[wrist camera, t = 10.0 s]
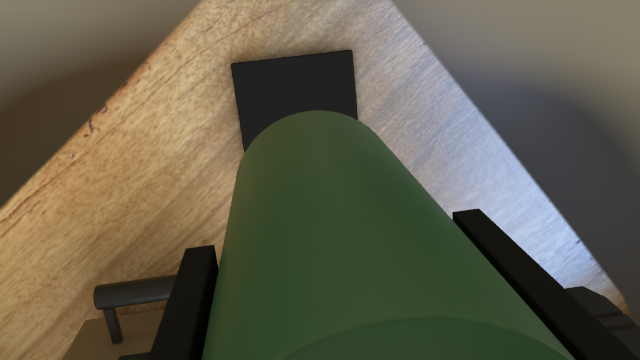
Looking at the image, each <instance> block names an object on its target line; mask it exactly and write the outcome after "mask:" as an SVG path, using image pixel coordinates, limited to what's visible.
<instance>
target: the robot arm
mask: <svg viewBox="0 0 640 360" xmlns="http://www.w3.org/2000/svg"><path fill="white" fill-rule="evenodd" d="M453 221H454V223H455V224H456V225H457V226H458V227H459V228H460V229H461V231H462V232H463V233H464V234H465V235H466V236H467V237H468V238H469V240H470V241H471V242H472V243H473V244H474V245H475V246H476V248H477V249H478V250H479V251H480V252H481V253H482V254H483V255H484V257H485V258H486V259H487V260H488V261H489V262H490V263H491V264H492V266H493V267H494V268H495V269H496V270H497V271H498V272H499V274H500V275H501V276H502V277H503V278H504V279H505V280H506V281H507V283H508V284H509V285H510V286H511V287H512V288H513V289H514V291H515V292H516V293H517V294H518V295H519V296H520V297H521V298H522V300H523V301H524V302H525V303H526V304H527V305H528V306H529V308H530V309H531V310H532V311H533V312H534V313H535V314H536V315H537V317H538V318H539V319H540V320H541V321H542V322H543V323H544V324H545V326H546V327H547V328H548V329H549V330H550V331H551V332H552V334H553V335H554V336H555V337H556V338H557V339H558V340H559V341H560V343H561V344H562V345H563V346H564V347H565V348H566V349H567V351H568V352H569V353H570V354H571V355H572V356H573V357H574V358H575V360H640V326H638V327H637V325H636V323H635V322H634V321H633V320H632V319H631V318H629V317H628V316H627V315H626V314H623V313H622V311H621V310H620V309H619V308H618V307H616V306H615V305H614V304H613V303H612V302H611V301H609V300H608V299H607V298H606V297H604V296H602V295H600V294H598V293H596V292H594V291H591V290H589V289H587V288H585V287H583V286H580V287H573V288H566V289H564V288H563V287H562V286H561V285H560V284H559V283H558V282H557V281H556V280H555V279H554V278H553V277H551V276H550V275H549V274H548V273H547V272H546V271H545V270H544V269H543V268H542V267H541V266H540V265H539V264H538V263H537V262H535V261H534V260H533V259H532V258H531V257H530V256H529V255H528V254H527V253H526V252H525V251H524V250H523V249H522V248H521V247H519V246H518V245H517V244H516V243H515V242H514V241H513V240H512V239H511V238H510V237H509V236H508V235H507V234H506V233H504V232H503V231H502V230H501V229H500V228H499V227H498V226H497V225H496V224H495V223H494V222H493V221H492V220H491V219H490V218H488V217H487V216H486V215H485V214H484V213H483V212H482V211H481V210H480V209H472V210H465V211H458V212H453ZM218 270H219V269H218V263H217V258H216V253H215V248H214V245H209V246H202V247H195V248H187V249H186V250H185V253H184V256H183V258H182V261H181V264H180V267H179V270H178V273H177V276H176V279H175V282H174V285H173V287H172V290H171V293H170V296H169V299H168V302H167V305H166V308H165V311H164V314H163V316H162V319H161V322H160V325H159V328H158V331H157V334H156V337H155V340H154V343H153V345H152V348H151V351H150V352H145V353H138V354H131V355H124V356H120V357H119V358H118V359H117V360H202V354H203V349H204V344H205V339H206V333H207V328H208V323H209V318H210V312H211V307H212V302H213V297H214V291H215V286H216V281H217V276H218Z"/></svg>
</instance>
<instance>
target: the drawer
mask: <svg viewBox="0 0 640 360" xmlns="http://www.w3.org/2000/svg"><path fill="white" fill-rule="evenodd" d="M176 276H177V274H174V275H167V276H159V277H152V278H145V279H138V280H130V281H123V282H116V283H109V284H101V285H97V286H96V287H95V289H94V293H93V299H94V304H95V307H96V308H97V309H98V310H103V312H104V316H105V318H98V319H91V320H86V321H85V322H84V324H83V325H82V327H81V329H80V330H79V332H78V334H77V336H76V337H75V339H74V341H73V342H72V344H71V346H70V347H69V349H68V351H67V352H66V354H65V356H64V358H63V359H62V360H117V359H118V358H119V357H120V356H124V355H131V354H138V353H145V352H150V351H151V348H152V345H153V343H154V340H155V337H156V334H157V331H158V328H159V325H160V322H161V319H162V316H163V314H164V311H165V309H162V310H155V311H148V312H141V313H134V314H127V315H120V316H117V313H116V309H115V308H117V307H124V306H131V305H138V304H145V303H152V302H160V301H167V300H168V299H169V296H170V293H171V290H172V287H173V285H174V282H175V279H176Z"/></svg>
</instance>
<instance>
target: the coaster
mask: <svg viewBox="0 0 640 360" xmlns="http://www.w3.org/2000/svg"><path fill="white" fill-rule="evenodd" d="M231 70H232V76H233V82H234V89H235V95H236V101H237V108H238V114H239V120H240V127H241V133H242V140H243V146H244V152H245V151H246V150H247V149H248V147H249V146H250V144H251V143H252V142H253V140H254V139H255V138H256V137H257V136H258V135H259V134H260V133H261V132H262V131H263V130H265V129H266V128H267V127H269V126H270V125H272V124H273V123H275V122H276V121H278V120H280V119H282V118H284V117H287V116H290V115H293V114H296V113H300V112H305V111H317V110H321V111H332V112H337V113H341V114H344V115H347V116H350V117H352V118H354V119H356V120H358V115H357V102H356V90H355V77H354V64H353V52H352V50H345V51H336V52H328V53H319V54H310V55H301V56H293V57H284V58H275V59H266V60H258V61H249V62H240V63H232V64H231Z"/></svg>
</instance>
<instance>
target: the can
mask: <svg viewBox="0 0 640 360" xmlns="http://www.w3.org/2000/svg"><path fill="white" fill-rule="evenodd" d="M202 360H575V358H574V357H573V356H572V355H571V354H570V353H569V352H568V351H567V349H566V348H565V347H564V346H563V345H562V344H561V343H560V341H559V340H558V339H557V338H556V337H555V336H554V335H553V334H552V332H551V331H550V330H549V329H548V328H547V327H546V326H545V324H544V323H543V322H542V321H541V320H540V319H539V318H538V317H537V315H536V314H535V313H534V312H533V311H532V310H531V309H530V308H529V306H528V305H527V304H526V303H525V302H524V301H523V300H522V298H521V297H520V296H519V295H518V294H517V293H516V292H515V291H514V289H513V288H512V287H511V286H510V285H509V284H508V283H507V281H506V280H505V279H504V278H503V277H502V276H501V275H500V274H499V272H498V271H497V270H496V269H495V268H494V267H493V266H492V264H491V263H490V262H489V261H488V260H487V259H486V258H485V257H484V255H483V254H482V253H481V252H480V251H479V250H478V249H477V248H476V246H475V245H474V244H473V243H472V242H471V241H470V240H469V238H468V237H467V236H466V235H465V234H464V233H463V232H462V231H461V229H460V228H459V227H458V226H457V225H456V224H455V223H454V221H453V220H452V219H451V218H450V217H449V216H448V215H447V214H446V212H445V211H444V210H443V209H442V208H441V207H440V206H439V204H438V203H437V202H436V201H435V200H434V199H433V198H432V197H431V195H430V194H429V193H428V192H427V191H426V190H425V189H424V187H423V186H422V185H421V184H420V183H419V182H418V181H417V180H416V178H415V177H414V176H413V175H412V174H411V173H410V172H409V171H408V169H407V168H406V167H405V166H404V165H403V164H402V163H401V161H400V160H399V159H398V158H397V157H396V156H395V155H394V154H393V152H392V151H391V150H390V149H389V148H388V147H387V146H386V144H385V143H384V142H383V141H382V140H381V139H380V138H379V137H378V135H377V134H376V133H374V132H373V131H372V130H371V129H370V128H369V127H367V126H366V125H365V124H363V123H362V122H360V121H358V120H356V119H354V118H352V117H350V116H347V115H344V114H341V113H337V112H332V111H321V110H317V111H305V112H300V113H296V114H293V115H290V116H287V117H284V118H282V119H280V120H278V121H276V122H275V123H273V124H272V125H270V126H269V127H267V128H266V129H265V130H263V131H262V132H261V133H260V134H259V135H258V136H257V137H256V138H255V139H254V140H253V142H252V143H251V144H250V146H249V147H248V149H247V150H246V151H245V153H244V155H243V157H242V160H241V162H240V165H239V168H238V171H237V176H236V181H235V186H234V191H233V197H232V202H231V207H230V212H229V218H228V223H227V228H226V233H225V239H224V244H223V249H222V255H221V260H220V265H219V270H218V276H217V281H216V286H215V291H214V297H213V302H212V307H211V312H210V318H209V323H208V328H207V333H206V339H205V344H204V349H203V354H202Z"/></svg>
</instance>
